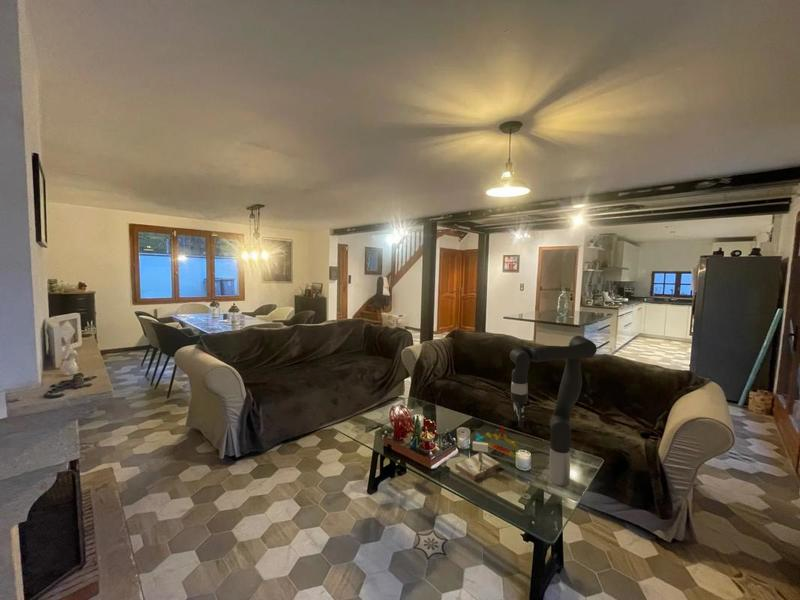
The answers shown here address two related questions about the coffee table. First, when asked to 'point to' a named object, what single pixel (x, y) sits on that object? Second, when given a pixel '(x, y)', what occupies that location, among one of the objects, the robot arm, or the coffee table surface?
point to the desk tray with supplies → (477, 466)
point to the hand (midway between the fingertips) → (518, 423)
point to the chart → (496, 447)
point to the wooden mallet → (480, 450)
